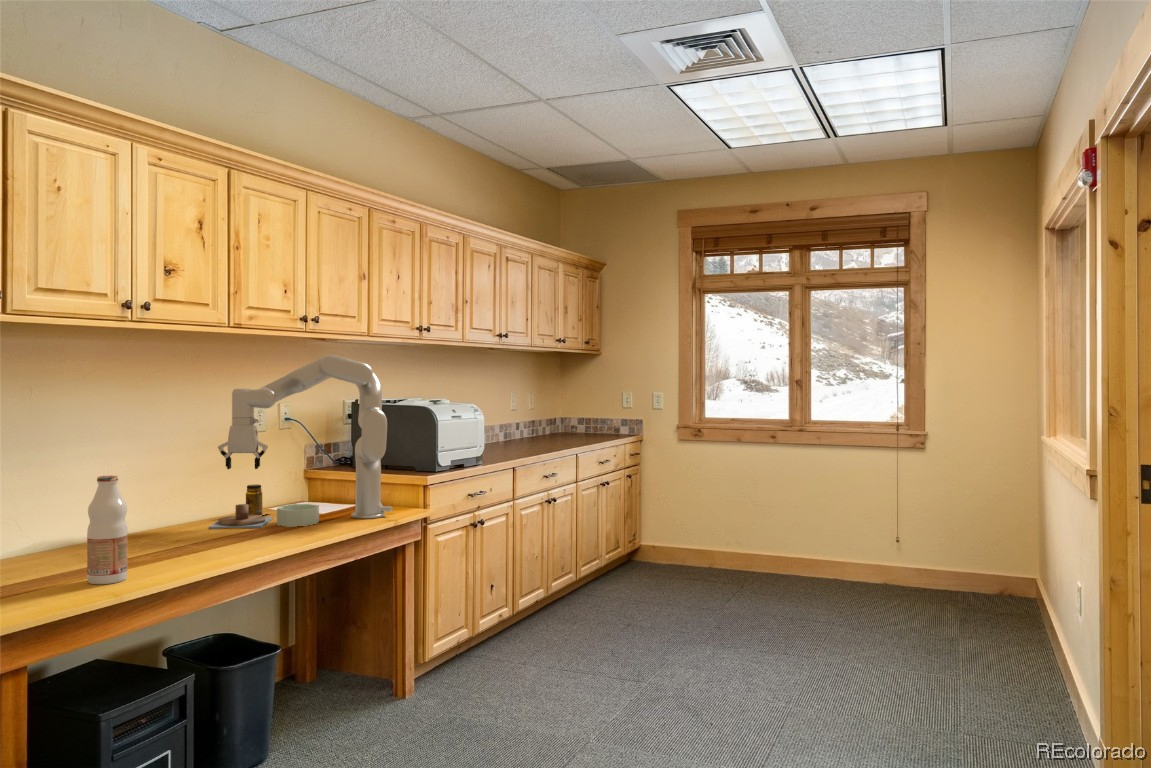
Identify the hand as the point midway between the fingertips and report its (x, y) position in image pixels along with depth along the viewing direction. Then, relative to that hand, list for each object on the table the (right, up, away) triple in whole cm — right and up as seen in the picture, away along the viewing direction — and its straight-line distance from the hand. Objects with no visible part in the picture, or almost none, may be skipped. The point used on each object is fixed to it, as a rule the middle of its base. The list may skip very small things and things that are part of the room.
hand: (242, 468), depth 305 cm
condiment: (-2, -20, +18) cm, 27 cm away
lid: (0, -20, 0) cm, 20 cm away
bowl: (+19, -21, +3) cm, 28 cm away
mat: (0, -20, 0) cm, 20 cm away
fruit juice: (-3, -22, -82) cm, 85 cm away
